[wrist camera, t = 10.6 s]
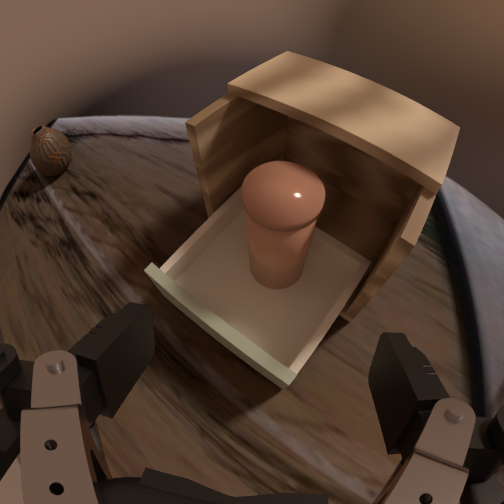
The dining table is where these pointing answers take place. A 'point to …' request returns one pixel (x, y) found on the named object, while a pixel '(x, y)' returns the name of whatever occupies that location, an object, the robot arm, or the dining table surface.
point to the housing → (331, 154)
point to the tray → (258, 293)
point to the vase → (49, 151)
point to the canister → (280, 220)
